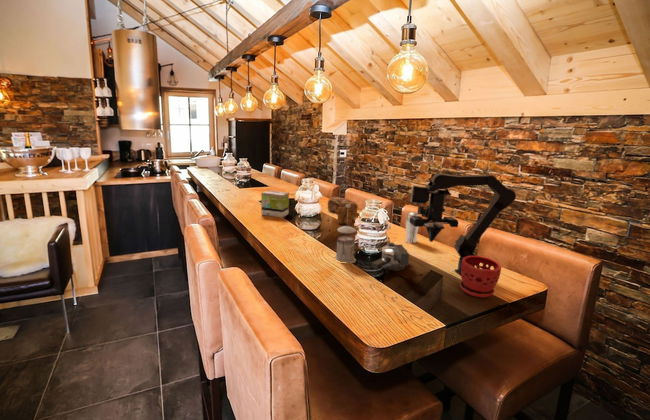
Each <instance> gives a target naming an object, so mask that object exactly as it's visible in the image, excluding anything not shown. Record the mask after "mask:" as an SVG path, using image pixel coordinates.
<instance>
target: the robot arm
mask: <svg viewBox="0 0 650 420" xmlns="http://www.w3.org/2000/svg"><path fill="white" fill-rule="evenodd" d="M463 186H464V187H467V186H470V187H471V186H474V187H475V186H487V187H488V188H489V189H490V190H491V192H493V195H492V196H491V199H490V203H489V204H488V206H487V208H486V209H485V211H483V213H482V215H480V216H479V219H478V220H477V221H476V222H475V224H474V225H473V227H472V228H471V229H470V230H469V232H468V233H467V234H465V235H463V234H462V233H461V234H460V235H459V237H458V238H457V240H455V241H454V242H455V245H454V249H455V252H456V253H457V254H458V256H459V260H458V264H457V265H458V266H457V268H455V269H454V272H456V273H457V274H458V275H460V276H461V264H462V259H463V258H464V257H466V256H476V254H475V253H474V252H475V251H476V248H477V245H478V241H479V240H480V239H481V237H482V236H483V235H484V233H485V232H486V231H487V229H488V228H489V227H490V226H491V224H492V223H493V222H494V221H495V219H496V217H497V216H498V215H499V214H500V213H501V212H502V211H503V210H505V209H507V208H508V207H510V206H511V205H512V203H514V202H515V200H516V199H517V197H516V196H517V195H516V193H515V191H514V190H512V189H511V188H509V187H506V186H505V185H504V184H503V183H501V181H499V180H498V178H497V177H496V176H495V175H492V174H471V175H468V174H467V175H455V174H448V173H442V172H438V173H437V172H436V173H435V174H434V175H432V177H431V180H430V182H428V183H427V185H425V186H418V185H413V187H412V188H411V189H412V190H411V192H410V203H414V204H423V205H425V204H426V203H428V202H429V203H428V205H427V206H426V208H425V207H424V206H418V208H417V213H418V214H420V216H412V217H411V218H410V223H411V224H412V225H414V226H416V227H425V228H426V230H427V231H426V232H427V236H428V240H429V242H431V243H433V241H435V239H436V238H437V236H438V235H439V234H440V232H441V231H442V230H445V228H446V227H444V225H449V226H450V228H458V227H459V221H458V220H457V218H454V217H453V216H444V217H443V215H444V214H443V213H444V212H446V209H445V208H444V207H445V203H446V197H447V196H452V193H451V192H450V191H449V189H451V188H454V187H463ZM470 264H472V262H471V263H470ZM473 267H476V266H473Z"/></svg>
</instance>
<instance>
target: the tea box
mask: <svg viewBox="0 0 650 420" xmlns="http://www.w3.org/2000/svg"><path fill="white" fill-rule="evenodd" d="M260 196H261V198H260V199H261V206H260V207H261V210H260V211H261V215H262V216H267V217H268V216H269V217H274V218H275V217H277V218H281V217H283V218H285V217H286V216H287V215H289V207H290V205H289V204H290V200H289V198H290V193H289V192H286V191H277V190H269V189H268V190H266V191H263V192H261V195H260Z"/></svg>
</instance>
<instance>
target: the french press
mask: <svg viewBox="0 0 650 420" xmlns="http://www.w3.org/2000/svg"><path fill="white" fill-rule="evenodd" d="M346 207H347V208H350V205H346ZM347 220H348V211H347ZM337 232H338V233H341V234H345V235H342V236H339V237H337V241H336V256H334V258H335V259H336V260H338V261H340V262H346V263H351V264H354V263H356V261H357V259H356V258H355V249H356V247H355V246H356V242H355V238H354V237H352V236H348V235H349V234H353V233H356V232H357V230H356V229H355V228H353V226H350V225H343V226H340V227H338V228H337Z"/></svg>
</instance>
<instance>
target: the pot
mask: <svg viewBox="0 0 650 420" xmlns="http://www.w3.org/2000/svg"><path fill="white" fill-rule="evenodd" d="M370 267H371V268H373V269H377V270H378V269H380V268H384V269H386V270H389V271H394V272H395V271H398V272H399V271H403V270H404V269H406V266H403V265H400V264H399V263H398V261H397V260H396V258H395V257H394V256H390V255H386V254H384V253H383V252H382V251H381V258H379V259H377V260H374V261H372V262H371V266H370Z"/></svg>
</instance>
